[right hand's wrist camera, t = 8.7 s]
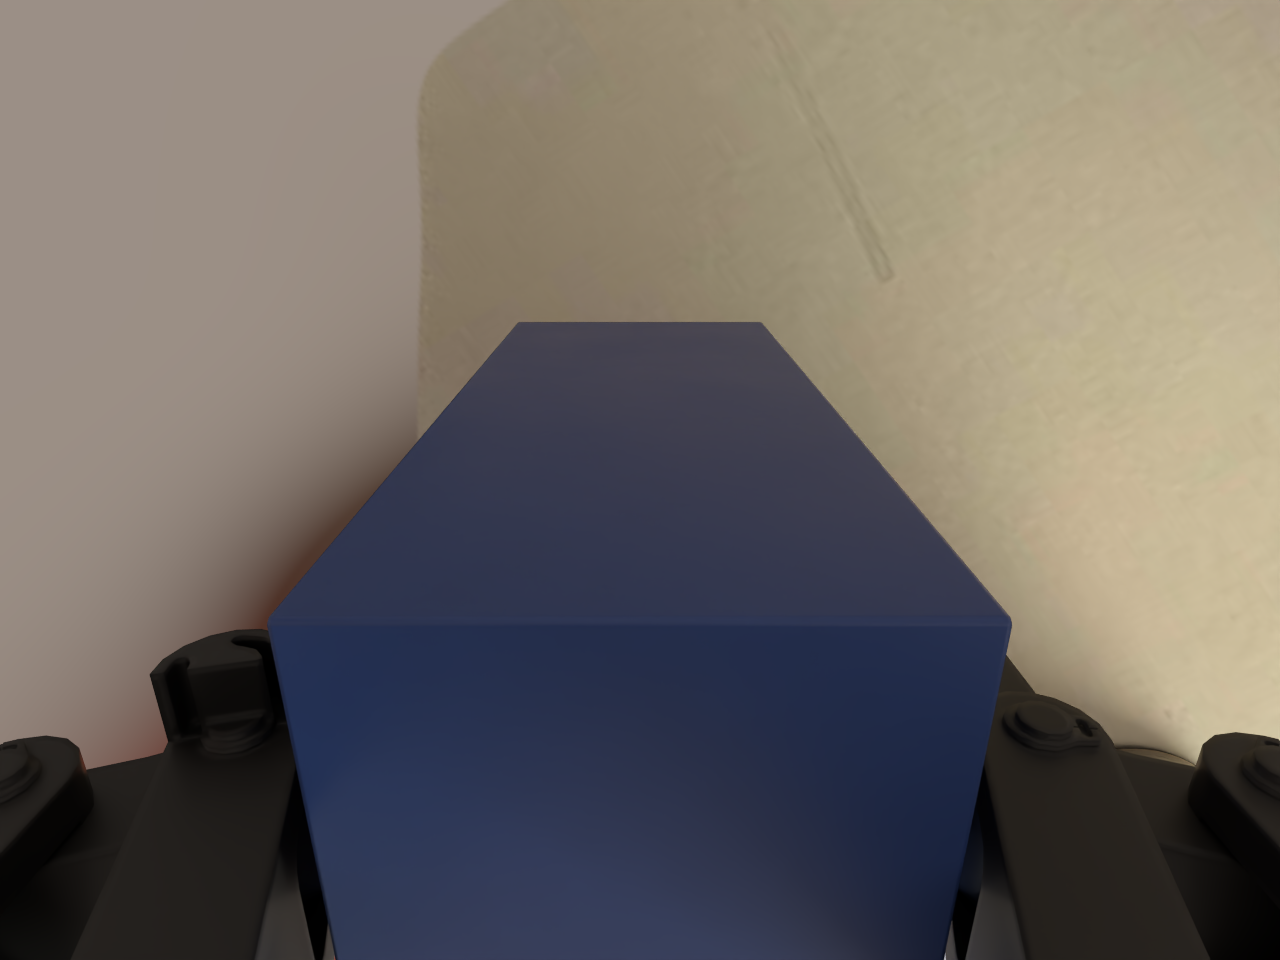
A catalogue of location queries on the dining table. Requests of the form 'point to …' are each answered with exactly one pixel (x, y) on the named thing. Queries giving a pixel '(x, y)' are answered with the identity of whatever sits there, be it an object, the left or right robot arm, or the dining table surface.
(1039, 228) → the dining table surface
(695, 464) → the block
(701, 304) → the dining table surface
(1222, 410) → the dining table surface
